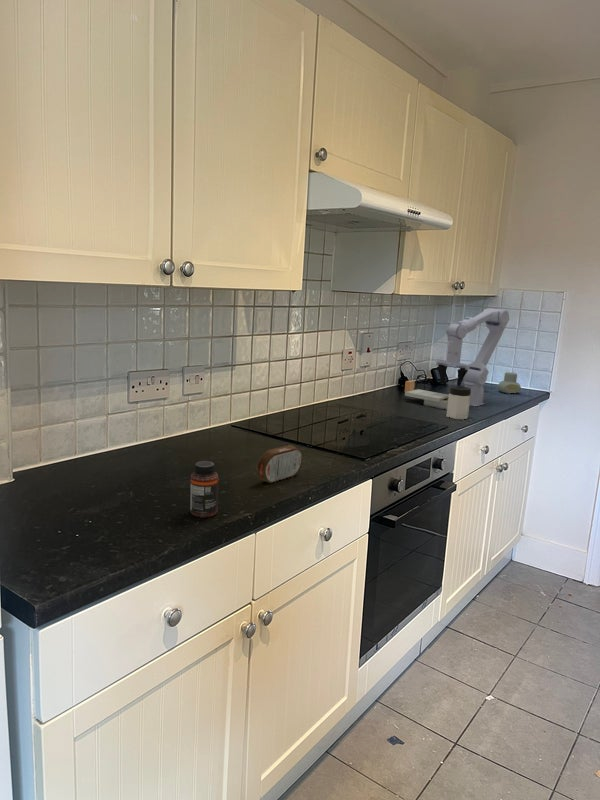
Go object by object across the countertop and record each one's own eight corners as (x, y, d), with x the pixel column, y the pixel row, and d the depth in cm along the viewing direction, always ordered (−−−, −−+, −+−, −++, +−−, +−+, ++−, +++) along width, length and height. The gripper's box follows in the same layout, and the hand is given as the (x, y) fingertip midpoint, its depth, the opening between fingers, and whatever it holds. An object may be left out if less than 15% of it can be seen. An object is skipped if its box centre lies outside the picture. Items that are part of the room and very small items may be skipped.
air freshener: (500, 393, 300) (503, 374, 298) (495, 390, 308) (497, 371, 306) (522, 395, 300) (524, 375, 298) (516, 391, 308) (518, 372, 306)
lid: (413, 391, 275) (414, 379, 274) (451, 399, 264) (452, 386, 262) (400, 394, 267) (401, 382, 266) (439, 402, 255) (440, 389, 254)
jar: (465, 420, 236) (469, 390, 233) (444, 417, 239) (448, 388, 236) (469, 416, 244) (472, 387, 241) (448, 413, 247) (452, 384, 244)
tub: (434, 402, 268) (435, 394, 267) (468, 409, 258) (469, 401, 257) (423, 405, 261) (424, 397, 260) (458, 412, 251) (458, 404, 250)
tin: (295, 472, 163) (296, 441, 161) (303, 475, 161) (305, 444, 159) (255, 484, 152) (256, 452, 150) (264, 487, 150) (265, 454, 148)
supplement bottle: (203, 505, 136) (205, 457, 133) (223, 513, 132) (225, 463, 130) (184, 513, 131) (185, 463, 129) (203, 521, 127) (205, 469, 125)
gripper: (434, 350, 258) (430, 382, 260) (465, 355, 249) (462, 387, 251) (441, 350, 263) (438, 380, 266) (473, 354, 254) (469, 386, 257)
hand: (450, 384), depth 259 cm, fingers open, 7 cm apart
